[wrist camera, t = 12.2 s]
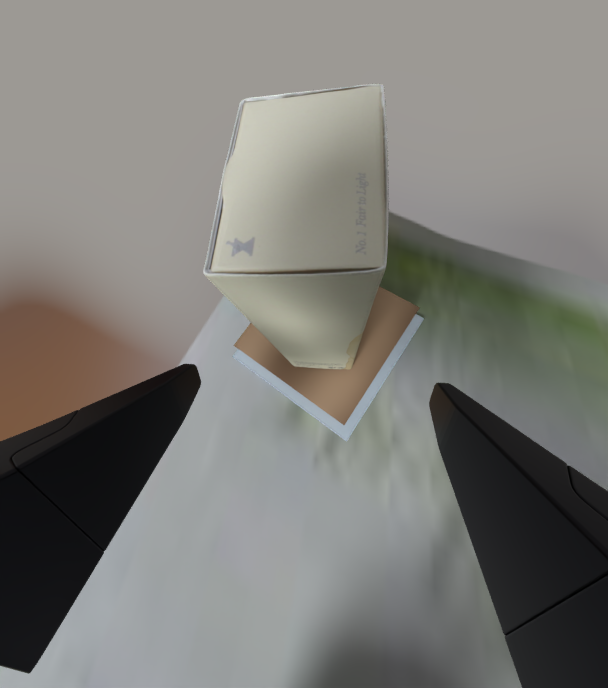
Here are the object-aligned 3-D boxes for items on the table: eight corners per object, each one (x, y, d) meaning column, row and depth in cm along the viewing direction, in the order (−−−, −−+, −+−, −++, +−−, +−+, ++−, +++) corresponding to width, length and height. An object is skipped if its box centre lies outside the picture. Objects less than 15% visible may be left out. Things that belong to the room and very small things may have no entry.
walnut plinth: (407, 321, 20) (419, 307, 17) (342, 422, 18) (344, 425, 16) (311, 268, 22) (307, 248, 19) (247, 353, 21) (233, 345, 18)
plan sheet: (422, 319, 20) (424, 318, 20) (346, 440, 18) (346, 441, 18) (308, 257, 23) (308, 256, 23) (233, 357, 21) (232, 356, 21)
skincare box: (352, 370, 16) (397, 284, 5) (290, 366, 17) (195, 282, 5) (354, 289, 18) (393, 74, 6) (297, 288, 19) (237, 90, 7)
